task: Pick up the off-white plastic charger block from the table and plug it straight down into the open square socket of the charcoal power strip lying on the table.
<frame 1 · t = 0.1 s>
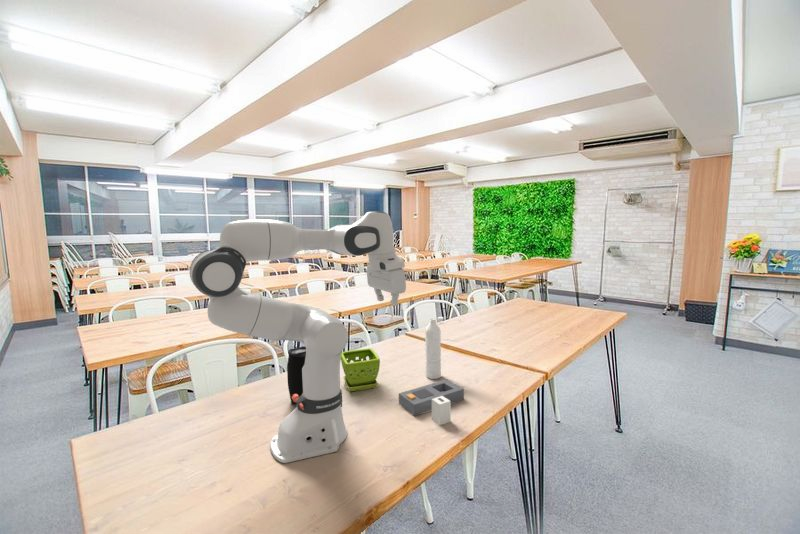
hand: (387, 303, 119), 39 cm above the table, tool pointing down, fingers open, 8 cm apart
portable speaker: (301, 400, 134), on the table
power strip: (431, 401, 132), on the table
charger: (441, 420, 119), on the table
water bottle: (435, 376, 155), on the table
flower pot: (360, 385, 147), on the table
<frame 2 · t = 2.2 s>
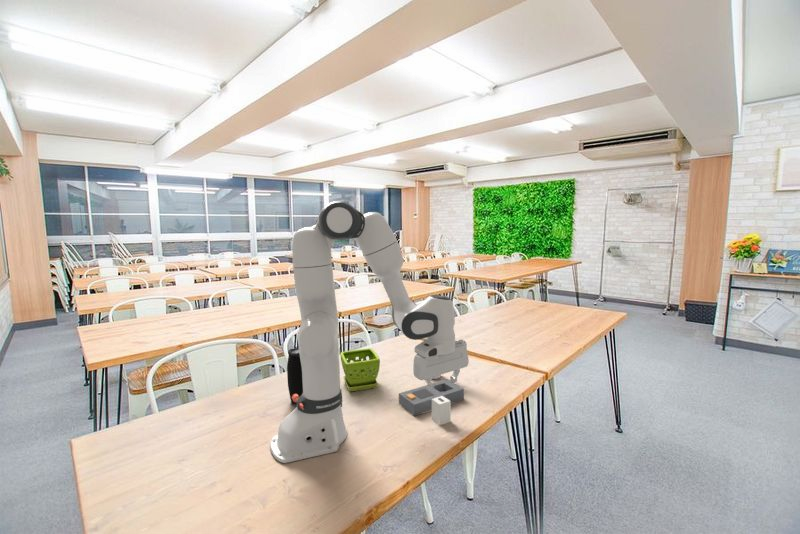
hand: (442, 385, 118), 12 cm above the table, tool pointing down, fingers open, 8 cm apart
nothing on the table moved.
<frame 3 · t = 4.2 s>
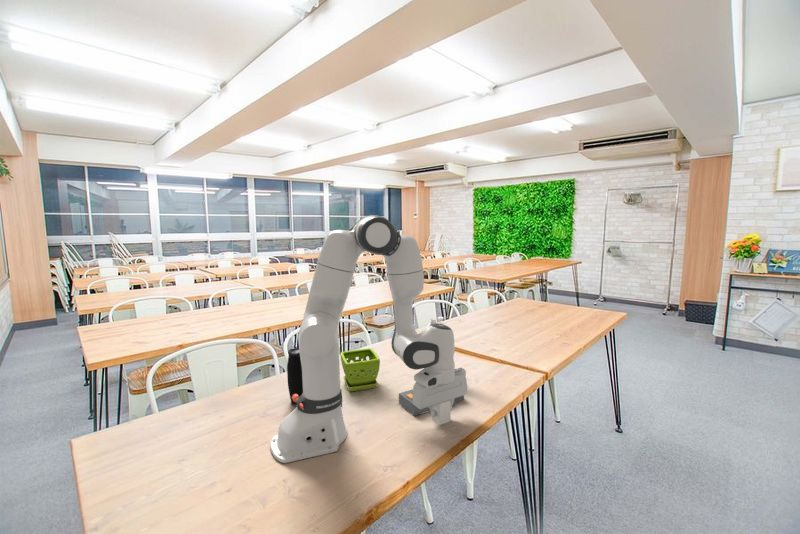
hand: (441, 413, 119), 2 cm above the table, tool pointing down, fingers closed on charger, 4 cm apart
charger: (441, 420, 119), on the table, touching gripper
everything else where it was.
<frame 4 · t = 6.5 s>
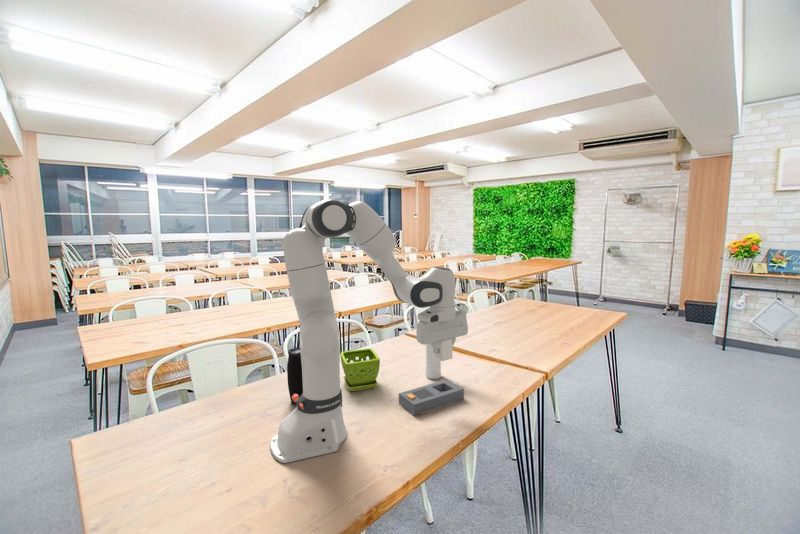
hand: (443, 351, 127), 20 cm above the table, tool pointing down, fingers closed on charger, 4 cm apart
charger: (443, 357, 127), point 17 cm above the table, touching gripper
everything else where it was.
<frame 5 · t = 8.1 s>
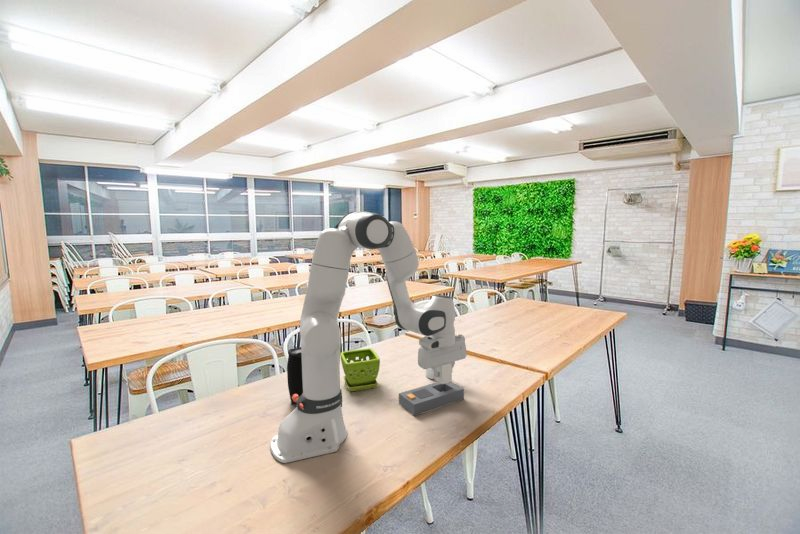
hand: (443, 374, 133), 9 cm above the table, tool pointing down, fingers closed on charger, 4 cm apart
charger: (443, 380, 134), point 7 cm above the table, touching gripper
everything else where it was.
when the fingers open (5 cm above the table, at t = 9.2 s): charger drops 2 cm, resting on power strip.
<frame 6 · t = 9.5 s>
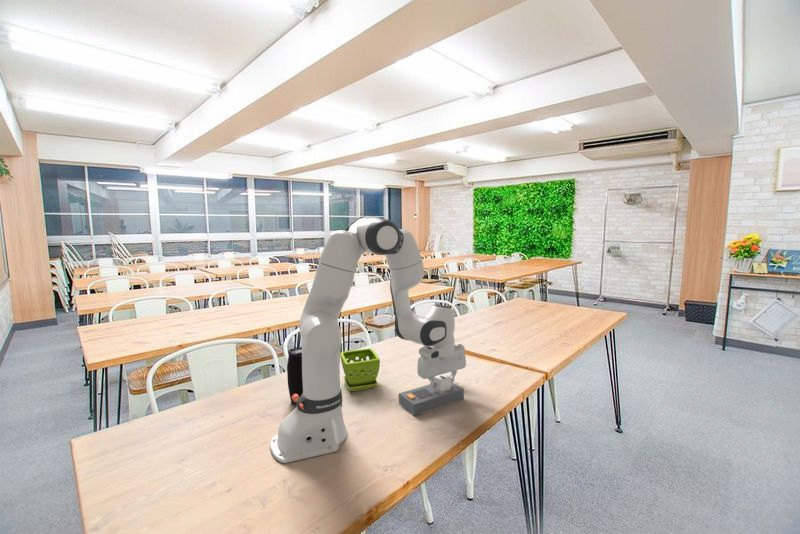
hand: (442, 384, 134), 5 cm above the table, tool pointing down, fingers open, 7 cm apart
charger: (442, 395, 134), point 1 cm above the table, touching power strip
everything else where it was.
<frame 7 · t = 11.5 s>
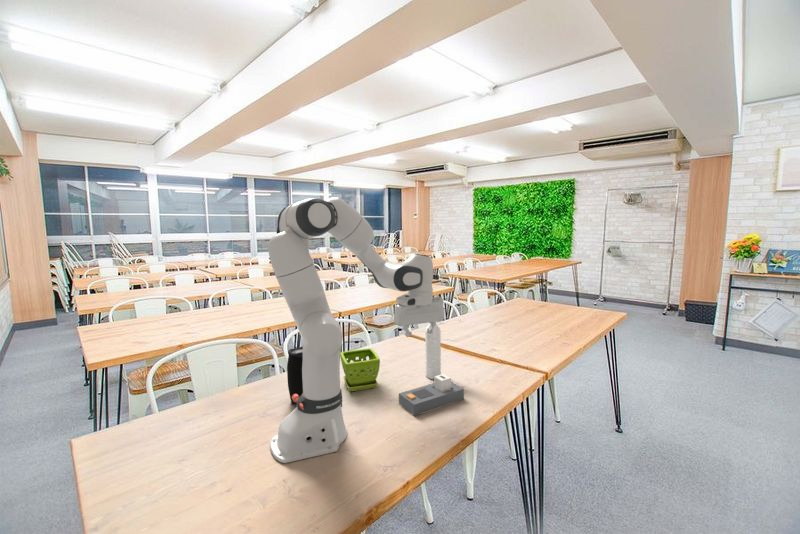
hand: (419, 335, 133), 24 cm above the table, tool pointing down, fingers open, 8 cm apart
nothing on the table moved.
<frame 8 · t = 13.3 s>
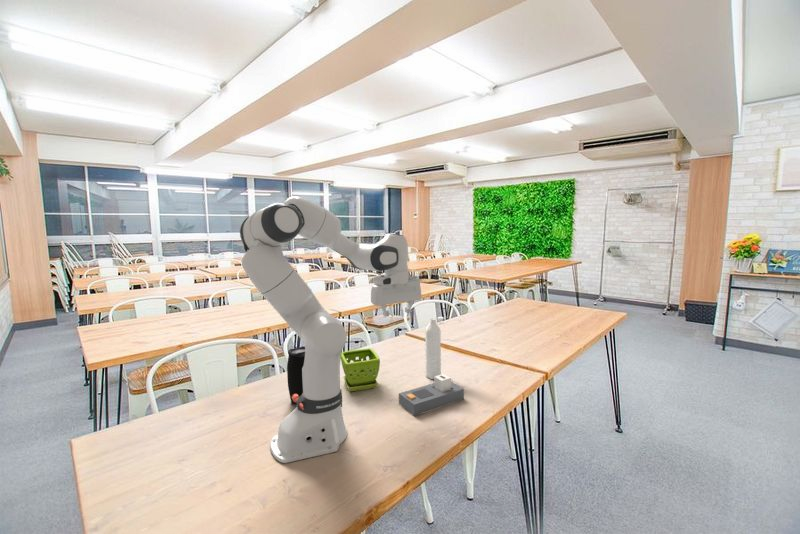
hand: (397, 314, 135), 31 cm above the table, tool pointing down, fingers open, 8 cm apart
nothing on the table moved.
at the end: charger 0.1 cm from the target spot on the power strip, point 1.1 cm above the power strip's base; charger tilted 0°; the gripper is holding nothing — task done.
